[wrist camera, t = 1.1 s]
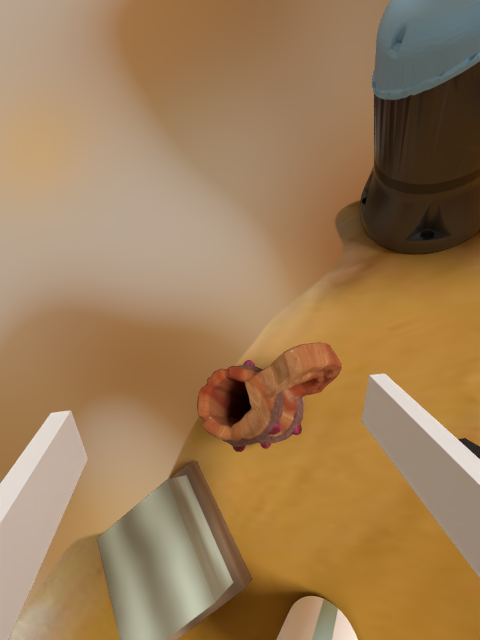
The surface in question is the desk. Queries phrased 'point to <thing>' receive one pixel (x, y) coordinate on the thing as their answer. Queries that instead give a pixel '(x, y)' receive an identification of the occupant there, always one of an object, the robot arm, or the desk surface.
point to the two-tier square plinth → (171, 560)
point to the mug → (265, 396)
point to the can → (316, 621)
